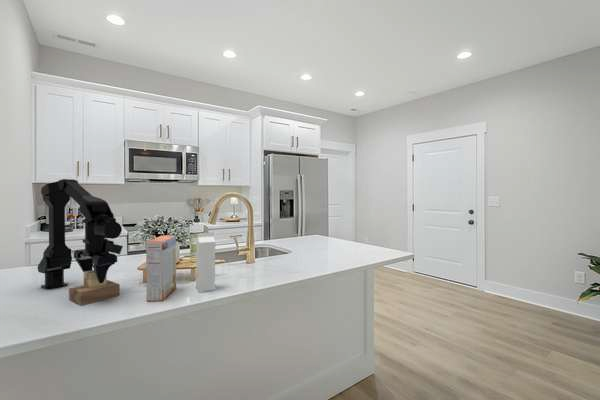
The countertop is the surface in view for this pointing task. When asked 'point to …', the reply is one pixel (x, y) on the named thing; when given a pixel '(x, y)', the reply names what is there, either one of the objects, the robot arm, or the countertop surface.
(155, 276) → the cracker box
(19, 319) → the countertop surface
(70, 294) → the walnut box
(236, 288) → the countertop surface
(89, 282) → the oak cube
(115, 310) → the countertop surface
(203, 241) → the milk
